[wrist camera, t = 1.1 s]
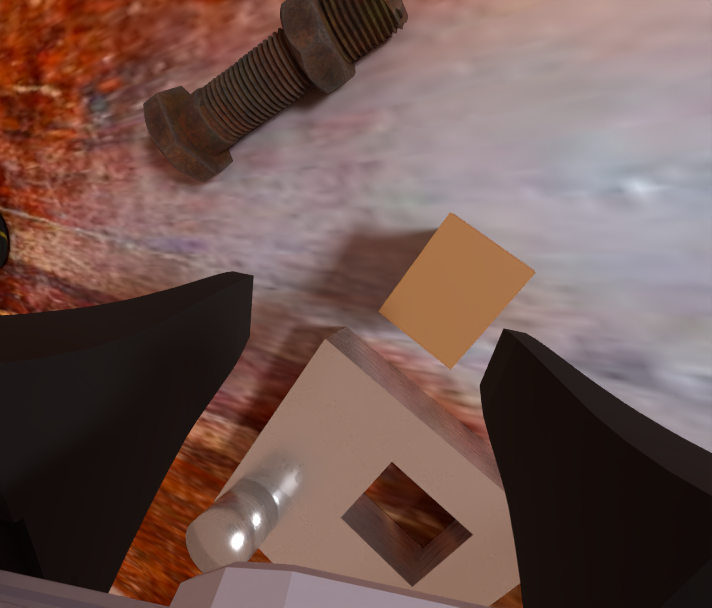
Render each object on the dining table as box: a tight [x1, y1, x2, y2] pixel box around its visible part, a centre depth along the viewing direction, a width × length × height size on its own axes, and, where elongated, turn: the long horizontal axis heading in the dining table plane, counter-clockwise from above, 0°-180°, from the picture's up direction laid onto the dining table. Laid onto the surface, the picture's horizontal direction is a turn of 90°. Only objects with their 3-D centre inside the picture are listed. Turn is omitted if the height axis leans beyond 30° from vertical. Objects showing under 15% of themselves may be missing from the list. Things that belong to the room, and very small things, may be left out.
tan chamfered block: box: [378, 213, 535, 370], centre depth 18 cm, size 4×5×6 cm
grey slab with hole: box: [186, 327, 520, 607], centre depth 23 cm, size 16×16×7 cm
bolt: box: [143, 0, 408, 182], centre depth 21 cm, size 6×5×15 cm
